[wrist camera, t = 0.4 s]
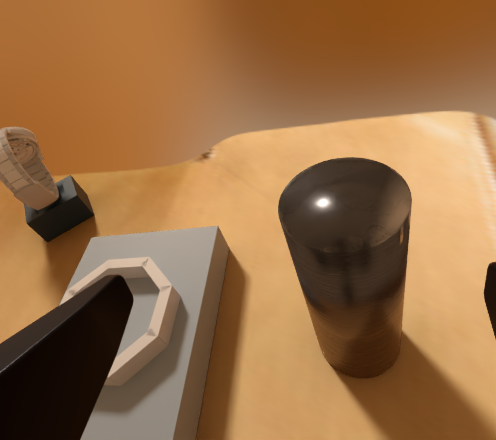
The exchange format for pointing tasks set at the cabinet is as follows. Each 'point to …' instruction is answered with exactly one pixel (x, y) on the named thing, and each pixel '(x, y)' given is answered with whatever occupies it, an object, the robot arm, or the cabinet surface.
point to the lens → (351, 258)
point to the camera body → (157, 330)
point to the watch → (40, 186)
